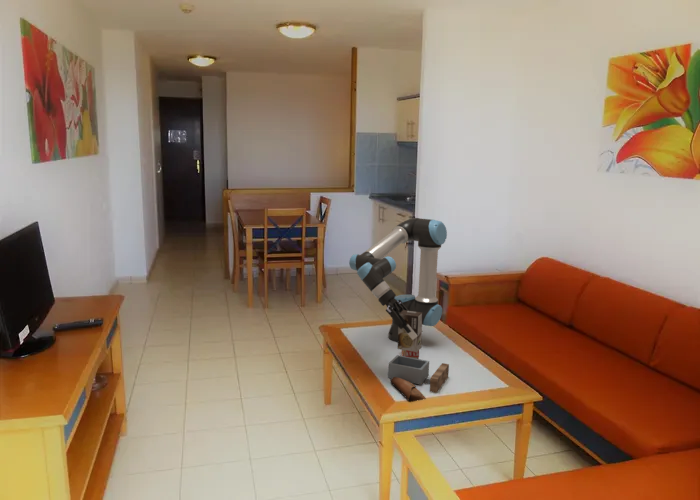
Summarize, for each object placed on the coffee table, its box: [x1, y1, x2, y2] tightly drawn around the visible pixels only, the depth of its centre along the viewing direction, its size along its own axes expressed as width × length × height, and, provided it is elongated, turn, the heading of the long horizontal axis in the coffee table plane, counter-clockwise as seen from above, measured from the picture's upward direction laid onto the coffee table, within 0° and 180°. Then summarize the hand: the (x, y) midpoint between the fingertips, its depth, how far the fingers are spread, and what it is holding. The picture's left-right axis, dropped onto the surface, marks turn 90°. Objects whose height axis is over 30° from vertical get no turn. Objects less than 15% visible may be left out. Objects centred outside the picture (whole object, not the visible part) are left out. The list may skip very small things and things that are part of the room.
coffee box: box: [397, 310, 423, 352], centre depth 235 cm, size 9×6×16 cm
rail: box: [422, 378, 430, 386], centre depth 238 cm, size 5×20×1 cm, turn 65°
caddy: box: [387, 354, 430, 385], centre depth 238 cm, size 11×15×7 cm
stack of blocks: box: [401, 349, 420, 359], centre depth 258 cm, size 21×6×12 cm, turn 179°
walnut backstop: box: [429, 362, 450, 394], centre depth 233 cm, size 18×3×6 cm, turn 155°
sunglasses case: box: [390, 377, 427, 402], centre depth 225 cm, size 18×7×7 cm
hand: (417, 335), depth 234 cm, fingers closed on coffee box, 6 cm apart
